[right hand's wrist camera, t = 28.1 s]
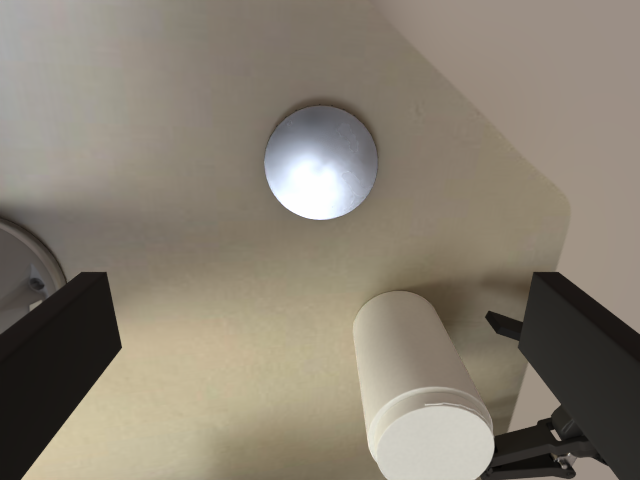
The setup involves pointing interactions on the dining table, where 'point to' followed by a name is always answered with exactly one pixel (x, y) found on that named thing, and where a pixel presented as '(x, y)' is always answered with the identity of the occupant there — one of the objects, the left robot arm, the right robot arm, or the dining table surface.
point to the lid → (321, 162)
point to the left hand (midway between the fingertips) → (457, 378)
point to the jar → (418, 393)
